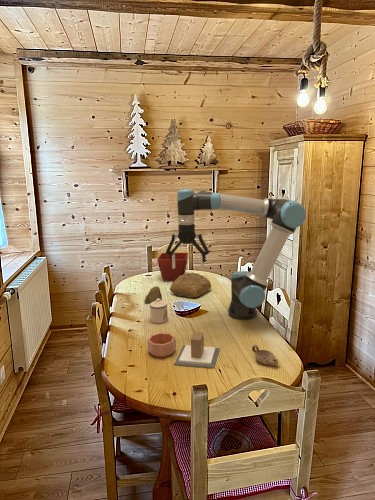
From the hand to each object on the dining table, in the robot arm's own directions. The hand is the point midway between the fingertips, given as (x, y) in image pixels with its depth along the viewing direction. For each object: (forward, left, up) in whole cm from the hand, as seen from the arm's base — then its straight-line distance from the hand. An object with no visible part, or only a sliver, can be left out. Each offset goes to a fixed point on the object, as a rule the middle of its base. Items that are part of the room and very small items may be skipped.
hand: (188, 268), depth 174 cm
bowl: (+7, +24, -31) cm, 39 cm away
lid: (-9, +26, -30) cm, 41 cm away
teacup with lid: (+18, -9, -31) cm, 37 cm away
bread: (+10, -53, -31) cm, 62 cm away
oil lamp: (-36, +25, -31) cm, 53 cm away
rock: (+29, -33, -31) cm, 54 cm away
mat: (-9, +26, -31) cm, 41 cm away
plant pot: (+28, -78, -31) cm, 89 cm away
